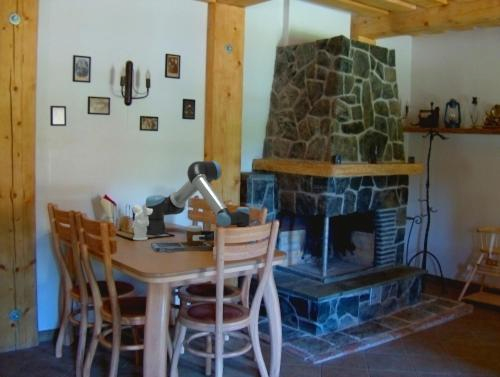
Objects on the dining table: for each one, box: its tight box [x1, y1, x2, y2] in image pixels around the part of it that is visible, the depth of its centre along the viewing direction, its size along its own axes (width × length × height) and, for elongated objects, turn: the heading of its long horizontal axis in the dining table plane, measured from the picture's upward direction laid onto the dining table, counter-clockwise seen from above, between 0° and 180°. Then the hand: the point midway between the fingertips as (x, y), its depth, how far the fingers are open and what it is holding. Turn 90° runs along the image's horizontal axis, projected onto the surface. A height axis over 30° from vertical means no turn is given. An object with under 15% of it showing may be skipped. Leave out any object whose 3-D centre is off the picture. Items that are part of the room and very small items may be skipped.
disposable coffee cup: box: [185, 224, 204, 247], centre depth 323 cm, size 10×10×12 cm
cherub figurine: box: [131, 203, 153, 241], centre depth 344 cm, size 12×12×22 cm
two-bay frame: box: [150, 240, 213, 253], centre depth 322 cm, size 20×31×2 cm, turn 109°
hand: (189, 235), depth 322 cm, fingers open, 13 cm apart
